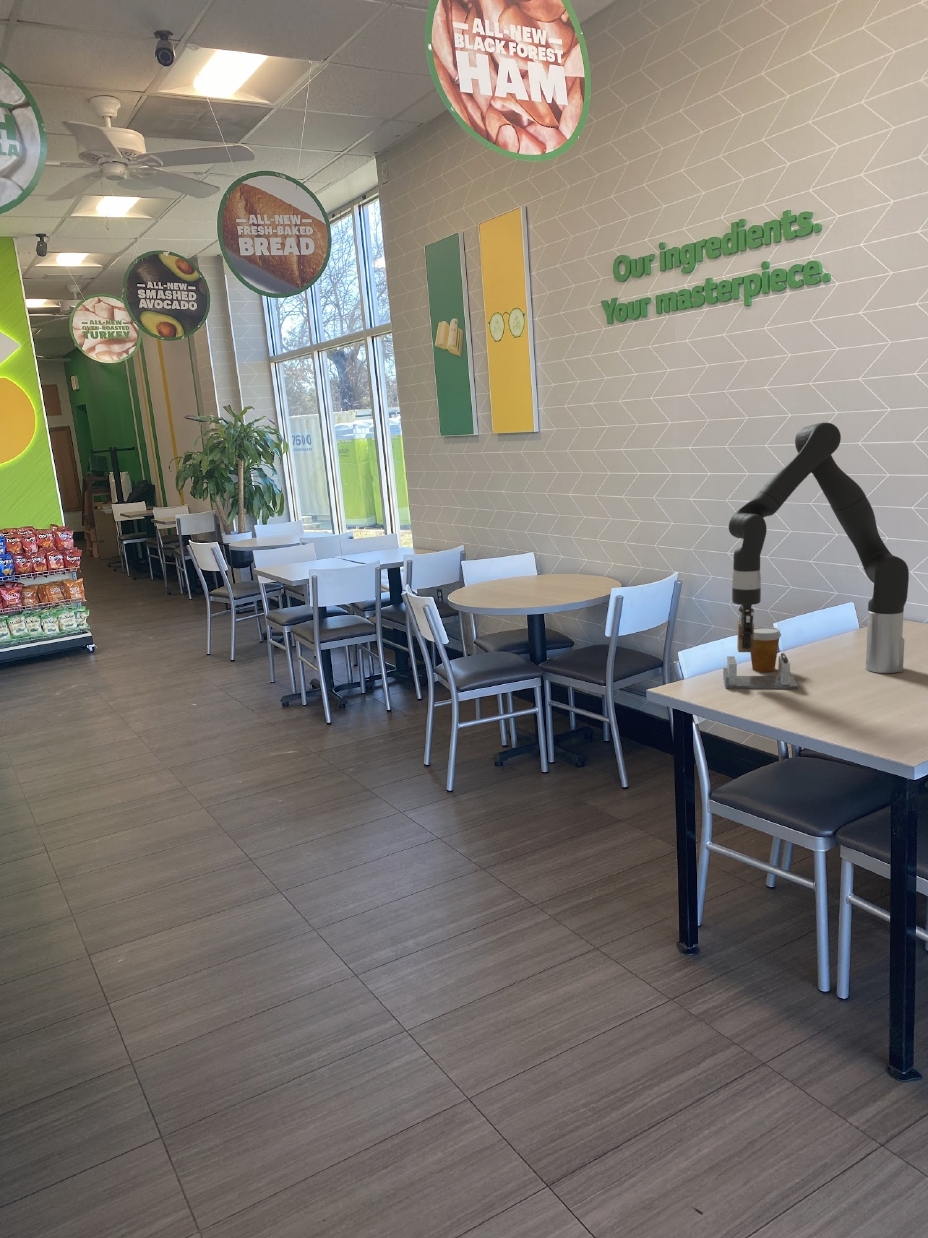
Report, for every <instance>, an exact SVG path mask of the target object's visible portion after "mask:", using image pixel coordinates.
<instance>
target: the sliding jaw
mask: <svg viewBox="0 0 928 1238" xmlns="http://www.w3.org/2000/svg"><path fill="white" fill-rule="evenodd" d="M777 670H778V673H777V676H778V677H779V679H780V681H781V684H782V685H790V676H791V663H790V661H789V659H788V657H787V655H786V654H785V652H782V653H781V654H780V655H778V669H777Z"/></svg>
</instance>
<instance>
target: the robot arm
mask: <svg viewBox="0 0 928 1238" xmlns="http://www.w3.org/2000/svg"><path fill="white" fill-rule="evenodd" d="M841 437H842V436H841V432H840V430H839V428H838V427H837V426H836V425H835V424H833V423H831V422H818V423H815V424H811V425H808V426H805V427H803V428H801V429H799V430H798V432H797V433H796V435H795V439H794V445H795V449H796V451H797V453H798V454H797V455H795V457H793V459H791V461H789V463H787V464H786V465H785V466H783V467H782V468H781V469H780V470H778V472H776V473H775V474H773V476H772V477H771V478H769V479H768V480H767V482H766V483H765V484H764V485H763V487H762V488H761V489H759V491H758V493H756V495H755V496H754V497H753V498H752V499H750V500H749V501H748V502H746V503H745V504H744V505H743V506H741V507H740V508H739V509H738V510H737V511H736V512H734V514H733V515H732V517H731V518H730V520H729V522H728V531H729V534H730V535H731V536H733V537H734V538H736V539H742V546H741V547H738V548H737V549H735V550H734V553H733V563H732V564H733V566H732V567H733V568H732V569H733V570H732V571H733V572H732V577H731V579H732V581H731V582H732V585H731V586H732V587H731V588H732V589H731V591H732V592H731V601H732V602H731V603H733V604H735V605H740V606H739V607H738V611H737V612H738V621H740V626H741V627H742V648H743V649H750V648H751V635H752V633H753V632H752V627H753V623H754V617H755V610H754V608H752V606H753V605H758V604H760V603H761V599H762V592H761V591H762V577H761V554H762V551H763V548H764V543H765V540H766V537H767V536H766V535H767V522H766V521H765V519H764V518H766V517H770V516H773V515H775V514H776V513H777V512H778V511H779V509H781V507H782V506H783V504H784V503H786V501H787V500H788V499H789V497H790V496H791V495H792V493H794V491H795V490H797V488H798V487H799V486H800V484H802V482H803V481H804V480H805V479H806V478H808V476H809V475H811V474H812V475H813V477H814V478H815V480H816V482H817V483H818V485H819V488H820V489H821V491H822V492H823V495H824V497H825V498H826V499H827V502H828V503H829V505H830V507H831V510H832V511H833V513H834V516H835V517H836V518H837V520H838V522H839V524H840V526H841V528H843V531H844V532H845V534H846V535H847V537H848V539H849V540H850V542H851V543H852V545H853V546H854V548H855V551H856V553H857V555H858V558H859V560H860V562H861V565H862V567H863V570H864V572H865V575H866V576H867V579H869V581H871V582H872V583H873V595H872V598H871V599H869V601H868V603H867V624H866V625H867V627H866V628H867V629H866V648H865V649H866V651H865V652H866V653H865V655H866V657H865V669H866V670H867V671H869V672H874V673H880V674H895V673H900V672H901V673H903V672H904V662H905V661H904V658H905V638H904V637H903V636H904V635H903V632H904V630H903V629H904V612H905V611H904V610H905V605H906V603H907V601H908V600H907V599H908V591H909V580H910V571H909V567H908V564H907V562H906V561H905V560H904V559H902V558H900V557H898V556H897V555H894V554H892V553H891V552H890V550H889V549H888V547H887V546H886V545H885V543H884V541H883V539H882V538H881V536H880V534H879V530H878V527H877V522H876V516H875V512H874V509H873V507H872V505H871V503H870V500H869V499H868V497H867V496H866V494H865V491H864V490H863V489H862V488H861V486H860V485H859V484H858V483H857V482H856V481H855V480H854V479H853V478H851V476H849V474H846V473H845V472H844V471H843V470H842V469H841V468H840V466H838V464H837V463H836V461H835V459H834V458H833V456H832V454H834V453H835V451H836V450H838V448H839V447H840V444H841V440H842V438H841ZM742 622H743V623H742ZM745 628H749V630H745Z"/></svg>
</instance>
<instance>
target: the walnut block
mask: <svg viewBox="0 0 928 1238" xmlns="http://www.w3.org/2000/svg"><path fill="white" fill-rule="evenodd" d="M742 623H743V622H742ZM754 627H755V623H754V622H753V627H752V632H753V633H752V635H751V648H750V649H743V648H742V627H741V626H740V621H739V620H737V652H738V653H750V652H754ZM745 630H749V628H745Z"/></svg>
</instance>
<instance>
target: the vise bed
mask: <svg viewBox="0 0 928 1238" xmlns="http://www.w3.org/2000/svg"><path fill="white" fill-rule="evenodd" d="M737 663H738V662H737V660H736V657H735V656H726V665H727V666H726V667H723V668H722V669H723V671H722V677H723V678H722V680H723V683H724V688H725V689H728V690H729V689H730V690H734V689H735V690H736V689H737V690H739V689H741V690H743V689H745V690H749V689H751V690H753V689H754V690H755V689H756V690H784V689H785V690H798V689H799V685H798V684H797V682H796V680H795V678H794V676H793V675H790V685H782V684H781V681H780V679H779V677H778V675H737V673H738V672H737V671H738V670H737V668H738V667H737V666H738V664H737Z"/></svg>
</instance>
